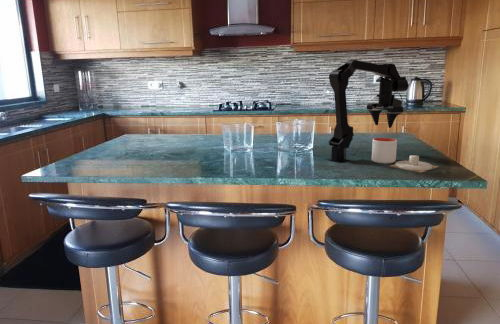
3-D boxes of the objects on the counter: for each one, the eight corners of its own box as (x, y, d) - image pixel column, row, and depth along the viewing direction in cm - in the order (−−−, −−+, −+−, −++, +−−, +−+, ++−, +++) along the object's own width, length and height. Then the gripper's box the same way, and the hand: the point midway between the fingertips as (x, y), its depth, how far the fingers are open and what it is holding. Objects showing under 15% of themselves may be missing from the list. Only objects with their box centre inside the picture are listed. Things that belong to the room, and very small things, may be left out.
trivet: (420, 174, 151) (420, 172, 151) (388, 167, 162) (388, 166, 161) (438, 168, 159) (438, 166, 159) (406, 162, 170) (406, 160, 170)
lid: (420, 172, 151) (421, 161, 150) (388, 166, 161) (389, 155, 160) (438, 166, 159) (439, 156, 158) (406, 160, 170) (407, 151, 169)
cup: (369, 163, 169) (370, 140, 167) (373, 158, 178) (375, 136, 175) (393, 165, 165) (395, 142, 162) (397, 160, 173) (398, 138, 171)
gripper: (414, 92, 171) (411, 128, 174) (386, 90, 188) (383, 123, 191) (394, 93, 167) (391, 129, 171) (367, 91, 184) (365, 124, 188)
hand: (383, 126), depth 180 cm, fingers open, 9 cm apart
